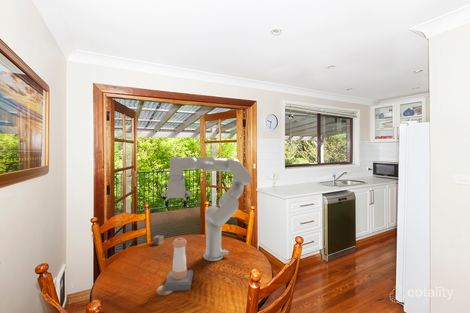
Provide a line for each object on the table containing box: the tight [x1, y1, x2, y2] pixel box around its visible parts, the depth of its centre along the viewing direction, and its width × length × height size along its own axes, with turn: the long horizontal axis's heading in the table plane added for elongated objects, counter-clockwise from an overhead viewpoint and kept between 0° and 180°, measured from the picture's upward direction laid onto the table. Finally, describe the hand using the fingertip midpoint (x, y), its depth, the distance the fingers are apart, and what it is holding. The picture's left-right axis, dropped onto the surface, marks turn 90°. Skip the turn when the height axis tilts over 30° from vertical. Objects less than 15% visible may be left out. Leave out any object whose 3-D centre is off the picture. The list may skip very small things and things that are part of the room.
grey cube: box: [152, 234, 165, 246], centre depth 156 cm, size 5×5×5 cm
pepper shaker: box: [171, 236, 188, 280], centre depth 109 cm, size 7×7×19 cm
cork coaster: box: [156, 284, 174, 296], centre depth 103 cm, size 8×8×1 cm
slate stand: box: [163, 269, 194, 292], centre depth 108 cm, size 12×12×3 cm
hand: (176, 207), depth 126 cm, fingers open, 9 cm apart
